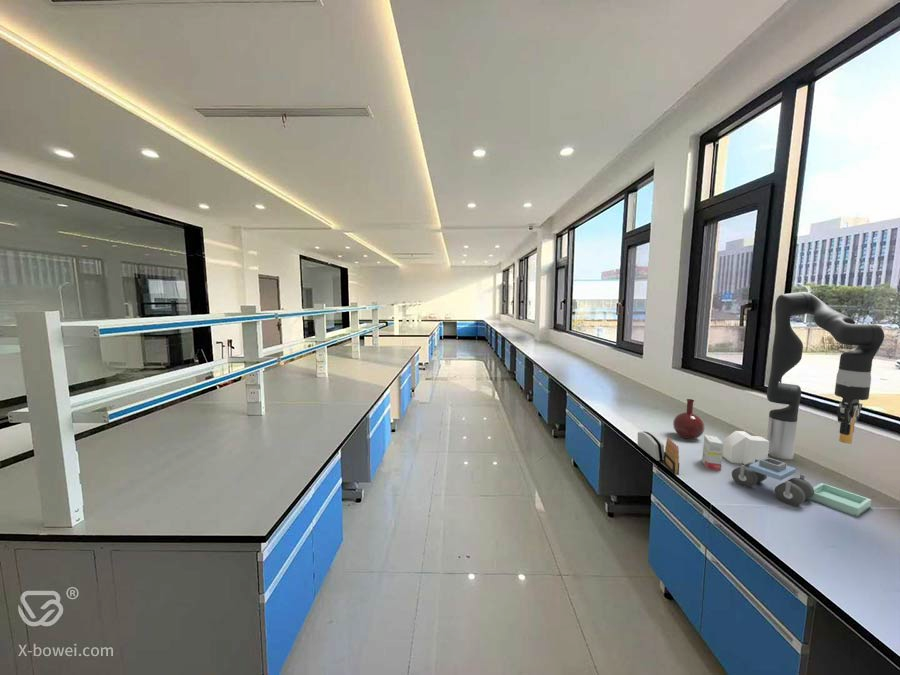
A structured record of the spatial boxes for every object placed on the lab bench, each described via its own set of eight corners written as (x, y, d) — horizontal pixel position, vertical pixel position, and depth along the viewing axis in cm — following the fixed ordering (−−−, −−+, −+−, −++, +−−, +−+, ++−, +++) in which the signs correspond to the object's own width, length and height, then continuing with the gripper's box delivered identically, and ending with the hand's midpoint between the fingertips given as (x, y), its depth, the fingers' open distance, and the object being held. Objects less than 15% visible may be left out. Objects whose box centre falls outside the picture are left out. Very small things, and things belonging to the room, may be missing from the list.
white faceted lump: (766, 469, 144) (769, 441, 143) (735, 466, 147) (738, 439, 145) (750, 457, 155) (752, 431, 154) (721, 455, 157) (723, 429, 156)
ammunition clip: (678, 475, 139) (681, 446, 138) (673, 475, 139) (675, 446, 138) (667, 463, 149) (669, 436, 148) (663, 462, 150) (665, 436, 148)
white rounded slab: (668, 463, 149) (667, 440, 148) (657, 464, 149) (656, 441, 148) (647, 447, 166) (646, 426, 165) (637, 448, 166) (636, 427, 165)
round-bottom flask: (702, 436, 179) (705, 398, 177) (704, 445, 168) (707, 405, 166) (672, 431, 186) (674, 395, 184) (672, 439, 175) (675, 401, 173)
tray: (820, 490, 128) (821, 482, 128) (870, 507, 117) (871, 499, 117) (806, 498, 123) (807, 490, 122) (857, 517, 112) (858, 508, 112)
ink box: (721, 471, 142) (724, 443, 141) (707, 468, 144) (709, 441, 143) (715, 462, 150) (717, 436, 149) (701, 460, 152) (703, 434, 151)
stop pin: (840, 439, 120) (844, 408, 118) (852, 442, 117) (856, 411, 116) (837, 441, 118) (841, 409, 117) (849, 444, 116) (853, 412, 115)
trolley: (745, 475, 139) (748, 448, 137) (814, 501, 121) (818, 469, 120) (729, 482, 133) (732, 453, 132) (799, 510, 115) (802, 477, 114)
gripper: (844, 379, 122) (838, 426, 124) (828, 383, 116) (822, 433, 118) (877, 383, 115) (870, 433, 117) (862, 388, 109) (855, 441, 111)
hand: (846, 433), depth 117 cm, fingers closed on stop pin, 2 cm apart
